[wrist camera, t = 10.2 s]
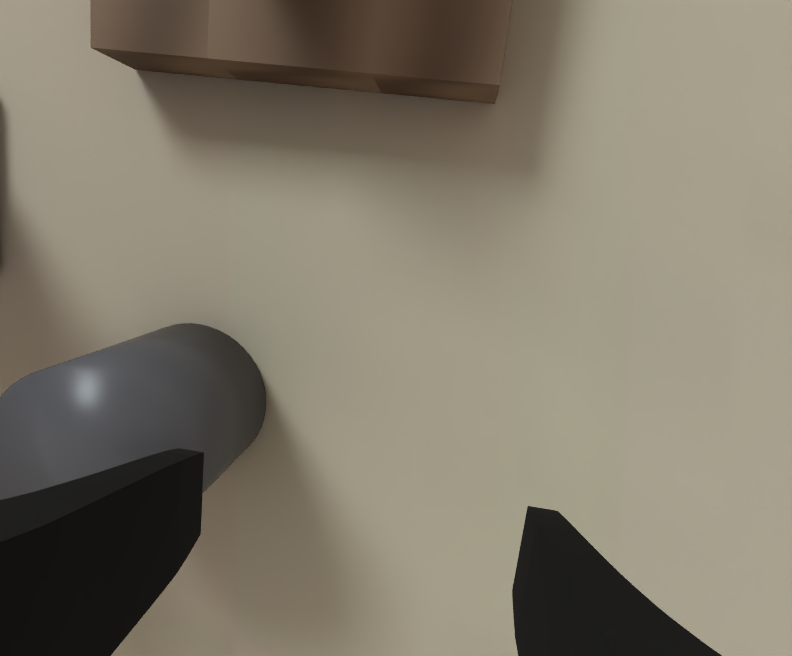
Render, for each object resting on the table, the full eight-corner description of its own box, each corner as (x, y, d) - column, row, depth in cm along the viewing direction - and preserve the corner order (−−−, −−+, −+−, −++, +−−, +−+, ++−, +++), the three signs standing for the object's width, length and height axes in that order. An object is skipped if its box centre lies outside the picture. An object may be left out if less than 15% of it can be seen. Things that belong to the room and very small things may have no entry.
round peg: (132, 457, 24) (-2, 552, 17) (121, 319, 22) (-29, 361, 16) (267, 469, 23) (183, 573, 16) (264, 327, 22) (171, 375, 15)
